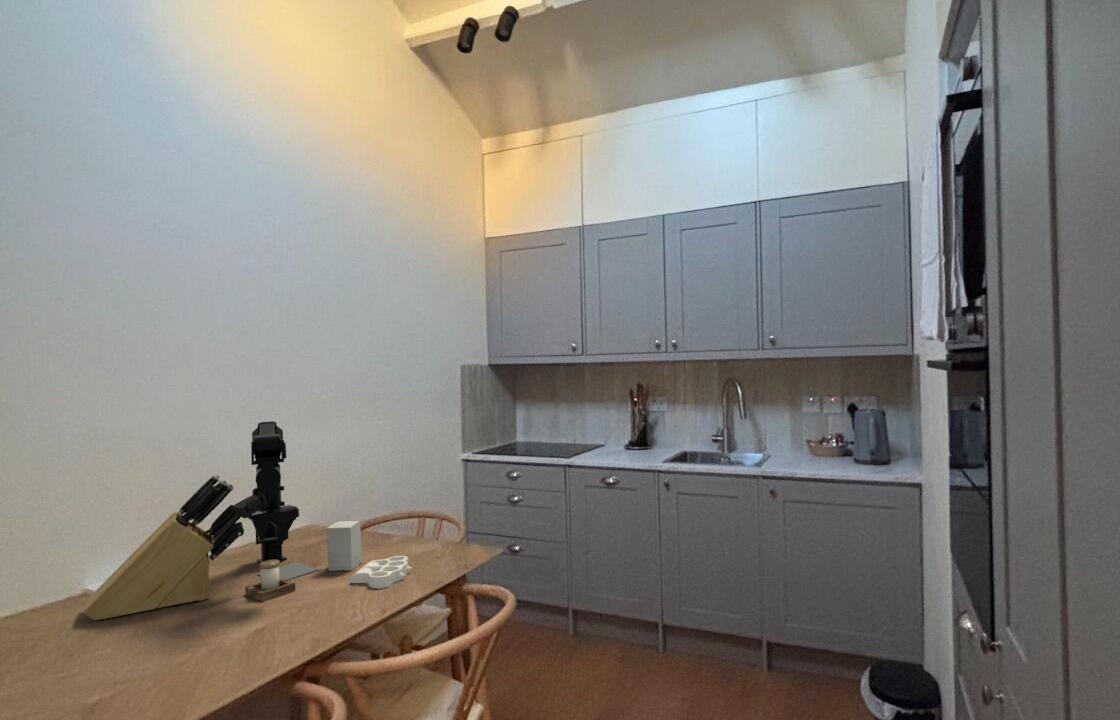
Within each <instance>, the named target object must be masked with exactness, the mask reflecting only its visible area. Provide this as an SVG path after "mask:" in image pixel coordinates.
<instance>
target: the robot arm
mask: <svg viewBox="0 0 1120 720" xmlns="http://www.w3.org/2000/svg"><path fill="white" fill-rule="evenodd" d="M283 432H284V431H283V429H282V428H280V427H279V426H278V425H277V421H273V420H272V421H261V422H258V423H257V427H256V428H255V429H254V430H252V432H251V441H250V445H251V449H250V450H251V456H250V457H251V466H255V470H256V473H255V484H256V487H255V488H253V490H252V494H251V495H250V496H248V497H246V498H244V499H242V500H240V501H239V502H237V503H235V504H233V505H234V506H233V507H234V509H235V511H236V514H237V516H238V517H241V518H242V519H248V520H250V521H251V522H252V525H253V527H254V529H255V545H260V551H261V558H258V559H257V560H256V563H259V564H260V563H261V562H263V561H267V560H279V562H283V561H286V560H287V559H288V557H286V556H283V547H282V545H283V544H284V542H285V541H287V540H289V530H290V529H291V527H292V525H293V524H294V521H295V520H297V518H299V517H300V509H299V508H298V507H297V506H295V505H290V504H287V505H286V504H285V501H284V500H282V492H283V491H285V486H284V485H281V484H282V483H281V482H282V481H281V480H282V476H281V475H282V474H281V465H280V463H284V462H285V459H287V445H286V442H285V440H284V433H283Z"/></svg>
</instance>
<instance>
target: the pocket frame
mask: <svg viewBox="0 0 1120 720" xmlns="http://www.w3.org/2000/svg"><path fill="white" fill-rule="evenodd" d="M279 583H280V586H279V587H276V588H273V589H270V590H267V591H262V590H261V581H260V582H257V583H254V584H251V585H247V586H245V588H244V590H245V596H248V597H251V598H252V599H255V600H258V601H260V602H265V601H269V600H271V599H275V598H277V597H281V596H283V595H286V594H289V593H292V592H295V591H296V582H293V581H291V580H285V579H282V578H280V577H279Z"/></svg>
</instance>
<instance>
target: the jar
mask: <svg viewBox="0 0 1120 720" xmlns="http://www.w3.org/2000/svg"><path fill="white" fill-rule="evenodd" d="M279 567H280V561H279V560H267V561H263V562H261V563H259V570H260V573H261V576H260V582H261V590H262V591H267V590H270V589H273V588H276V587H279V586H280V583H279Z"/></svg>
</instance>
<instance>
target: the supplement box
mask: <svg viewBox="0 0 1120 720" xmlns="http://www.w3.org/2000/svg"><path fill="white" fill-rule="evenodd" d="M361 531H362V530H361V521H360V520H353V521H352V520H351V521H350V520H349V521H347V520H345V521H341V520H340V521H339V520H338V521H336V522H334V523H333V524H331V525H329V526H328V527H326V541H327V562H328V563H327V564H328V566H327V567H328V571H330V572H331V571H332V572H333V571H341V572H342V570H344V571H353V570H354V569H356V568H357V567H358V566H359V564H360V563H361V564H362V563H363V557H362V556H363V555H362V534H361V533H362V532H361ZM361 564H360V565H361ZM355 567H356V568H355Z"/></svg>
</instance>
